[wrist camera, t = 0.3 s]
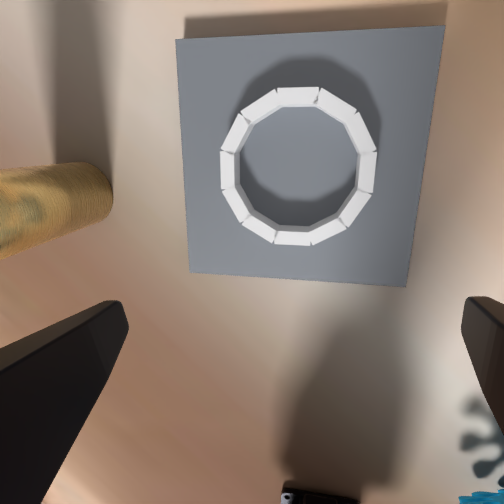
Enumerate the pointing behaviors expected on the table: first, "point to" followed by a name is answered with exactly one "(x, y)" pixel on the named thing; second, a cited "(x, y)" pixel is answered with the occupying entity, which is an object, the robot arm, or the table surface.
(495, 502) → the gear
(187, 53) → the grey square base plate
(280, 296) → the table surface
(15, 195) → the brass shaft
